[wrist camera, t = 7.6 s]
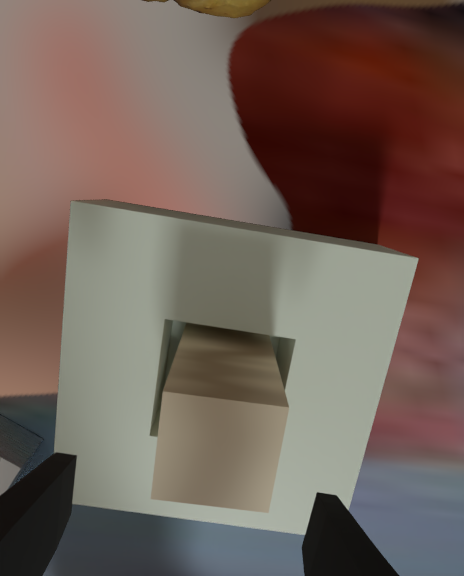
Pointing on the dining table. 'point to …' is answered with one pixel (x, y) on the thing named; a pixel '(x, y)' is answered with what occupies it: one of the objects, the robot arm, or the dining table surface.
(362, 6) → the dining table surface
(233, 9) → the bread roll
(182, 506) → the socket
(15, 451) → the stand
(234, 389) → the peg
